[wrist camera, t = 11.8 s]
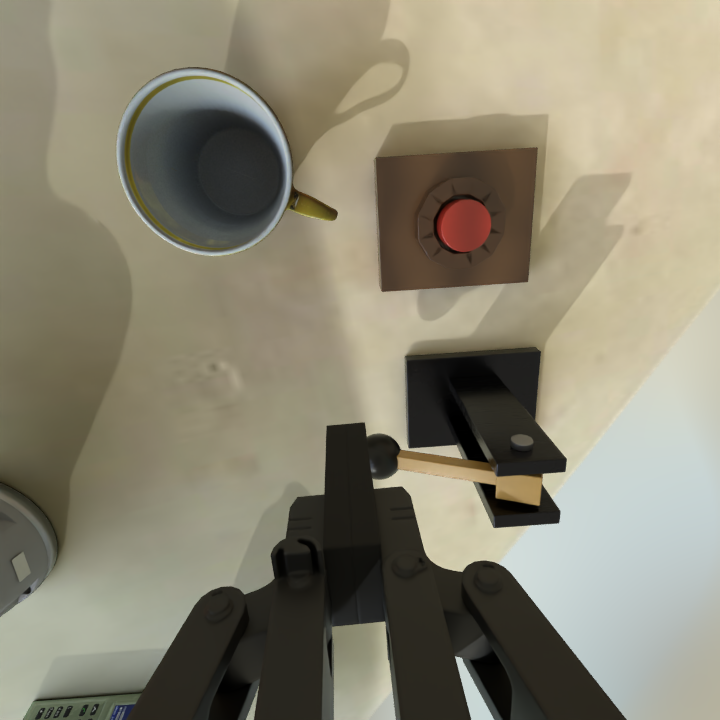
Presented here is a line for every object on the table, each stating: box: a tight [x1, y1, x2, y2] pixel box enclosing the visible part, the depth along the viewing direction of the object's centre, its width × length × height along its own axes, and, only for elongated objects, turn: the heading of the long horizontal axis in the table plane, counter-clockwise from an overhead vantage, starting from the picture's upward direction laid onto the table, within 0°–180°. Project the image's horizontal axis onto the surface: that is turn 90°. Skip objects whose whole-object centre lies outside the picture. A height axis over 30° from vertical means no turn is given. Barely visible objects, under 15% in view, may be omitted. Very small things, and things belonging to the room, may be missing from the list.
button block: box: [374, 147, 538, 292], centre depth 35 cm, size 12×10×4 cm
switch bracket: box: [405, 347, 567, 528], centre depth 36 cm, size 12×9×15 cm
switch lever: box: [367, 433, 543, 506], centre depth 33 cm, size 13×3×3 cm, turn 93°
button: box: [437, 199, 491, 252], centre depth 33 cm, size 4×4×2 cm
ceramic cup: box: [116, 67, 338, 256], centre depth 31 cm, size 13×10×10 cm
